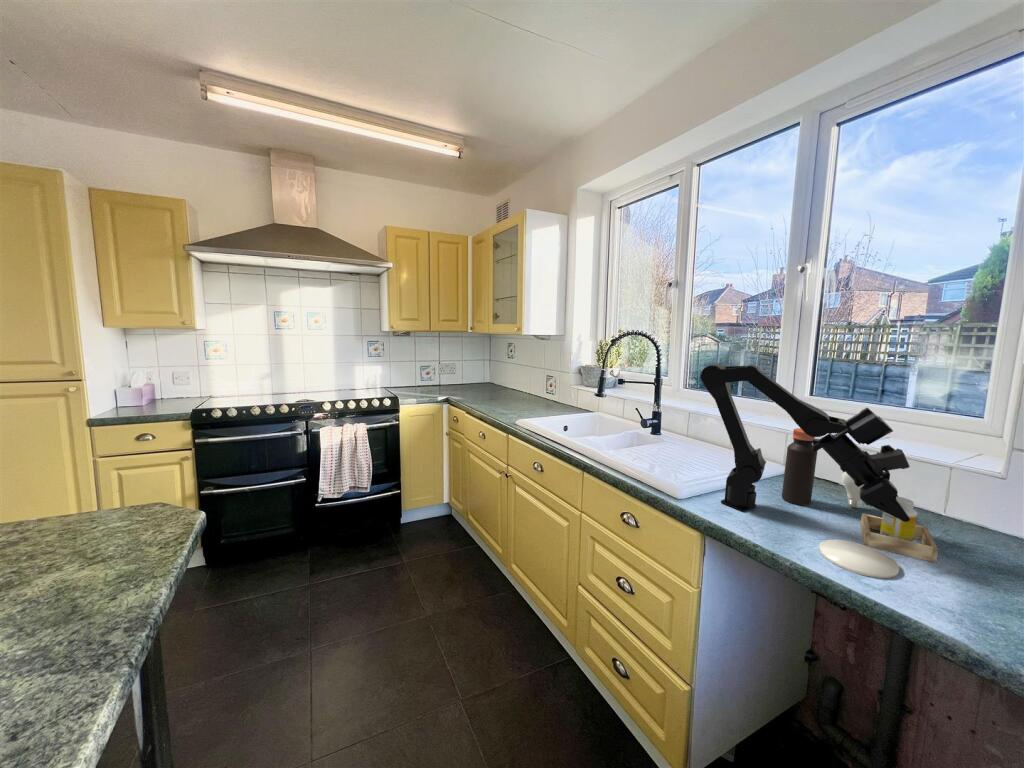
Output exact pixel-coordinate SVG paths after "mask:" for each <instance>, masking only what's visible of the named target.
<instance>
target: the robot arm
mask: <svg viewBox="0 0 1024 768" xmlns="http://www.w3.org/2000/svg"><path fill="white" fill-rule="evenodd" d="M699 378H700V381H701V382H702V384H703V385H704V387H705V389H706V390H707V392H708V393H709V394H710V395H711V396H712V398H713V400H714V401H715V403H716V406H717V408H718V412H719V415H720V416H721V420H722V422H723V425H724V427H725V430H726V432H727V433H726V434H727V435H728V438H729V440H730V443H731V446H732V449H733V455H734V465H735V467H733V468H732V469H730V470H731V471H730V472H729V474H727V476H726V480H725V491H724V498H723V499H721V500H720V503H721V504H723V505H726V506H728V507H730V508H734V509H736V510H738V511H740V512H747V511H748V510H751V509H754V508H757V504H756V502H757V501H756V499H757V492H756V485H754V484H755V483H758V482H759V481H760V480H761V478H762V476H763V473H764V471H765V466H766V464H767V461H766V460H765V459H764V457H763V454H762V453H763V452H762V449H761V448H754V446H752V444H751V443H750V440H749V437H748V435H747V433H746V430H745V426H744V424H743V422H742V420H741V416H740V414H739V411H738V409H737V407H736V403H735V401H734V398H733V396H732V391H731V383H735V382H737V383H738V382H748V383H749V384H750V385H752V386H753V387H754V388H756V390H758V391H759V392H761V393H762V394H764V395H765V396H766V397H767V398H769V400H771V401H772V402H774V403H775V404H776V405H778V406H779V407H780V408H781V409H783V410H784V411H785V412H786V414H788V415H789V416H790V417H791V419H792V421H794V423H795V424H796V425H797V427H799V429H802V430H803V431H804V432H805V433H806V434H807V435H809V436H811V437H815V439H812V442H813V447H812V451H813V452H816V451H817V452H818V451H819V450H821V449H823V450H824V452H826V453H827V454H828V455H829V456H830V458H831V459H832V460H833V461H834V462H835V463H837V465H838V466H839V469H840V470H841V471H842V473H844V472H846V473H847V474H848V475H849V476H850V477H851V478H852V479H853V480H854V483H855V485H856V486H857V487H859V486H861V485H863V484H864V486H862V487H860V490H859V495H860V499H861V500H862V501H861V502H863V503H864V504H865V505H866V506H869V507H870V508H871V507H873V508H875V509H877V510H879V511H882V512H883V511H884V512H886V513H888V514H890V515H892V516H894V517H896V518H898V519H900V520H902V521H904V522H907V521H910V518H909V517H908V515H907V514H906V512H905V511H904V509H903V508H902V506H901V505H900V504H899V502H898V501H897V499H896V497H900V496H899V495H898V493H899V492H898V489H897V487H896V486H895V485H894V484H893V483H892V481H890V479H891V473H890V471H893V470H900V469H901V470H905V469H909V468H910V467H911V466H910V464H909V461H908V459H907V457H906V455H905V452H904V451H903V450H902V449H900V448H896V449H895V448H894V447H892V446H891V445H890V444H885V445H881V446H880V452H879V451H878V452H876V453H874V454H870V453H869V452H868V451H867V450H864V449H863V450H862V449H861V448H860V447H859V446H858V445H857V444H856V443H858V444H859V445H861V444H862V445H865V444H866V445H867V446H869V445H871V444H873V443H875V442H877V441H878V440H880V439H882V438H884V437H885V436H887V435H890V434H892V432H894V430H893V429H892V427H891V426H890V425H888V423H887V422H886V421H885V420H884V419H883V418H881V417H880V416H879V415H877V414H875V413H874V412H873V411H872V410H871V409H870V408H869V407H865V408H862V410H860V412H859V413H857V414H855V415H853V416H852V417H849V418H848V419H845V418H840V417H835V416H831V415H829V414H828V413H827V412H826V411H824V410H822V409H820V408H818V407H816V406H814V405H812V404H811V403H807V402H805V401H803V400H801V399H799V398H798V397H796V396H795V395H794V394H792V393H791V392H790V391H789V390H787V389H786V387H783V386H782V385H781V384H780V383H778V382H777V381H775V380H774V379H772V377H770V376H769V375H767V374H766V373H765V372H763V371H762V370H761V369H760V368H759V367H758V366H757V365H755V364H748V365H731V366H730V365H729V366H725V365H723V364H721V363H712V364H710V365H708V366H705V367H704V368H703V369H702V370H701V373H700V377H699ZM847 434H848V435H849V436H850V437H851V438H852V439H853V440H854V441H855V442H856V443H855V442H854V441H853V440H852V439H851V438H850V437H849V436H848V435H847Z"/></svg>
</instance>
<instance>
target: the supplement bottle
mask: <svg viewBox="0 0 1024 768" xmlns="http://www.w3.org/2000/svg"><path fill="white" fill-rule="evenodd" d="M896 499H897V501H898V502H899V504H900V505H901V506H902V508H903V509H904V511H905V512H906V514H907V515H908V517H909V518H910V521H907V522H904V521H902V520H900V519H898V518H896V517H894V516H892V515H890V514H888V513H886V512H884V511H882V517H881V518H882V523H881V530H879V534H881V535H885V536H889V537H894V538H898V539H902V540H907V541H911V542H914V538H913V537H914V531H915V525H917V517H918V512H917V511H916V510H915V509H914V506H915V502H914V501H913V500H911V499H909V498H906V497H902V496H899V497H896Z"/></svg>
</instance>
